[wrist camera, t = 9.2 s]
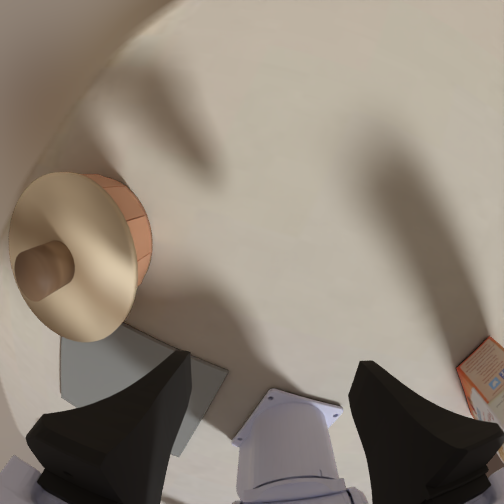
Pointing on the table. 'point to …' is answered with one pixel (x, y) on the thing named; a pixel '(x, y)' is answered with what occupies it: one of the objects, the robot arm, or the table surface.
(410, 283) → the table surface
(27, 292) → the lid
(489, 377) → the cracker box
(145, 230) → the bowl
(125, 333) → the mat
